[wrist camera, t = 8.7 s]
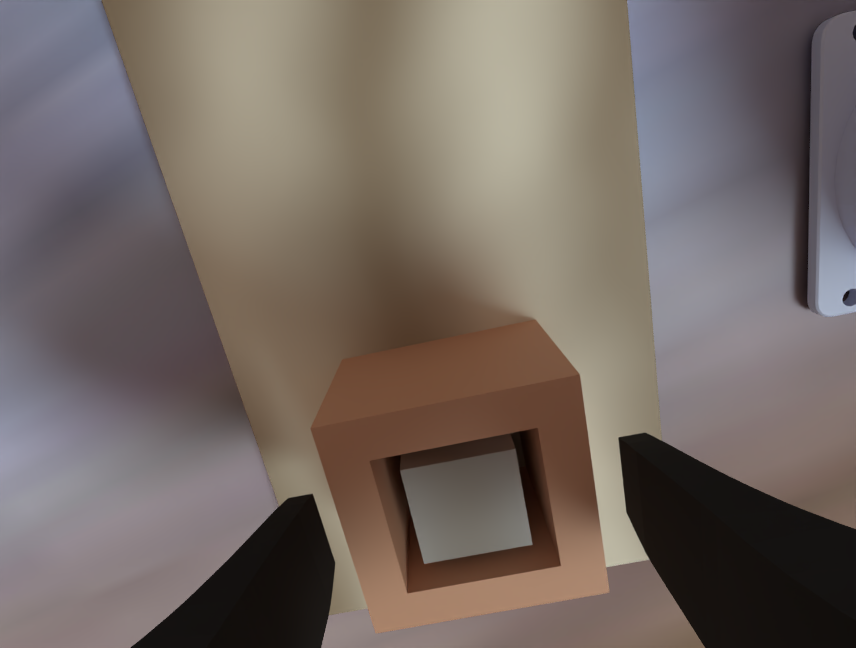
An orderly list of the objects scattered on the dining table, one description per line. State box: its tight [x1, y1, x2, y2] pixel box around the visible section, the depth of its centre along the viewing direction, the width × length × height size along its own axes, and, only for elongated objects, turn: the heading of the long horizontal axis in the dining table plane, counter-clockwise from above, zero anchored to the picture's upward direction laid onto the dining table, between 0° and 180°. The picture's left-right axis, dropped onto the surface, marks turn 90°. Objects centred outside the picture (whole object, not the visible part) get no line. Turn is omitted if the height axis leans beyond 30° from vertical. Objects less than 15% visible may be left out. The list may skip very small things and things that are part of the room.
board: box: [102, 0, 662, 615], centre depth 11 cm, size 12×28×5 cm, turn 12°
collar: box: [310, 319, 609, 633], centre depth 12 cm, size 6×6×4 cm
